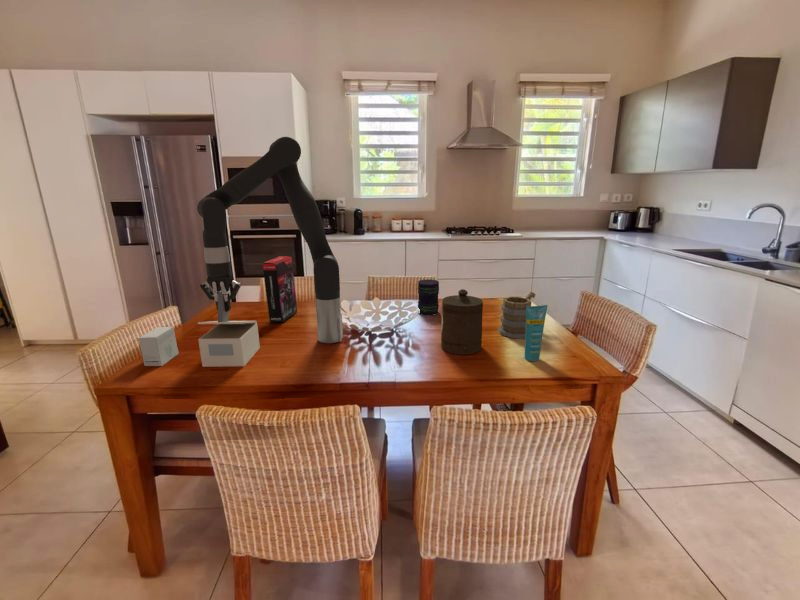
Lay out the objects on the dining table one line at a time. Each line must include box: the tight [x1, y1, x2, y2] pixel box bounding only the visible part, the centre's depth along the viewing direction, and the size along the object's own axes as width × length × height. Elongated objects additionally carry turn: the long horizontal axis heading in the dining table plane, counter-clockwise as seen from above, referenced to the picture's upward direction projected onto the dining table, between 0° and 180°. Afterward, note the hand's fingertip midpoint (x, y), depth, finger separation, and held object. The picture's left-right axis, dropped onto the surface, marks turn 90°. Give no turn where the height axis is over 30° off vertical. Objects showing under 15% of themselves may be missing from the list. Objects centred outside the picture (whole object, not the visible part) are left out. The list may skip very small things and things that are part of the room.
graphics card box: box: [262, 255, 298, 324], centre depth 181 cm, size 17×7×27 cm, turn 172°
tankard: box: [497, 291, 536, 339], centre depth 164 cm, size 20×13×15 cm, turn 131°
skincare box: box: [137, 326, 180, 367], centre depth 139 cm, size 10×6×10 cm, turn 178°
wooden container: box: [440, 288, 484, 356], centre depth 147 cm, size 15×15×22 cm
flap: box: [197, 291, 257, 325], centre depth 140 cm, size 14×15×11 cm
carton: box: [198, 322, 261, 368], centre depth 141 cm, size 14×16×10 cm
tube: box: [523, 304, 548, 362], centre depth 137 cm, size 7×5×19 cm, turn 103°
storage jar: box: [417, 279, 440, 316], centre depth 189 cm, size 10×10×15 cm
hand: (224, 311), depth 136 cm, fingers closed on flap
